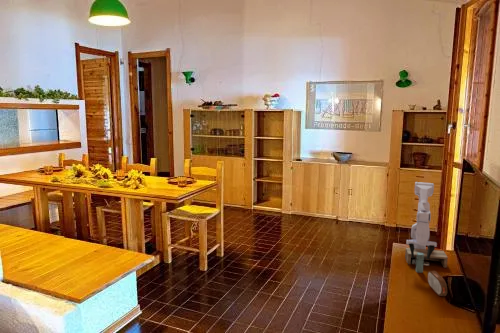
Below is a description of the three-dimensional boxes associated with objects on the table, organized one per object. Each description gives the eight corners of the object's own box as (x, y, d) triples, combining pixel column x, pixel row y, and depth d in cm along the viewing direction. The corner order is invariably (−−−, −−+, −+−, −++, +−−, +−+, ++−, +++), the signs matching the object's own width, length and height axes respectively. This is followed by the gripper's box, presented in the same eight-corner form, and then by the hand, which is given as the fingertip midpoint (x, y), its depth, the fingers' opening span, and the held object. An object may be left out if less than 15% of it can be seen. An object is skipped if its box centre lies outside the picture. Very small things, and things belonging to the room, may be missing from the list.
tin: (447, 299, 171) (448, 282, 169) (440, 299, 171) (441, 282, 169) (432, 283, 186) (433, 267, 184) (425, 283, 186) (427, 267, 184)
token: (421, 262, 209) (421, 260, 209) (429, 263, 208) (429, 261, 208) (422, 265, 206) (422, 263, 205) (430, 266, 205) (430, 264, 204)
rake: (411, 263, 208) (413, 246, 206) (419, 264, 207) (421, 247, 205) (415, 272, 197) (416, 254, 195) (423, 272, 196) (425, 255, 195)
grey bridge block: (405, 257, 216) (405, 247, 214) (442, 260, 211) (443, 250, 210) (407, 264, 207) (408, 253, 206) (446, 267, 202) (447, 257, 201)
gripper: (408, 235, 192) (406, 259, 195) (439, 237, 189) (436, 262, 191) (406, 230, 199) (404, 254, 201) (435, 232, 196) (433, 256, 198)
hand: (420, 257), depth 197 cm, fingers open, 7 cm apart
